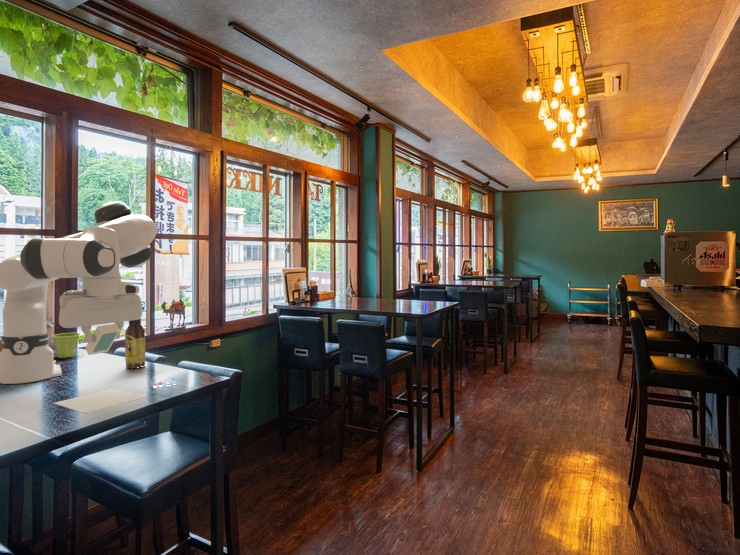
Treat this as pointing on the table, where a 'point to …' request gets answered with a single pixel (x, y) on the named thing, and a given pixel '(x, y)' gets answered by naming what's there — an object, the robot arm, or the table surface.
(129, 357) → the sauce bottle
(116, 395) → the bar mat
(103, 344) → the card deck
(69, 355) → the plant pot
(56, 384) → the table surface
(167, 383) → the mobile phone
